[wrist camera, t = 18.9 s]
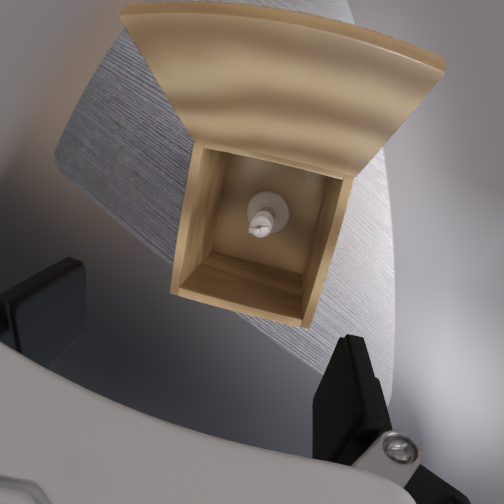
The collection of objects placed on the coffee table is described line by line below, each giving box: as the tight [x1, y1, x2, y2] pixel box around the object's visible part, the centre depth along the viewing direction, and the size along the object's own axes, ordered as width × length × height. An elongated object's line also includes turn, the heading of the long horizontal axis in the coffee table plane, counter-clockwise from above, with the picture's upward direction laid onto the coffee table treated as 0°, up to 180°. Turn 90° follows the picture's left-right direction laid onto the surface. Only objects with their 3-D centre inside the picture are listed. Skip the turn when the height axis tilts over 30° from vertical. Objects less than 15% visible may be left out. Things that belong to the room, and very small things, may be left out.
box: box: [170, 141, 354, 329], centre depth 31 cm, size 14×13×12 cm
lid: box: [119, 1, 446, 177], centre depth 16 cm, size 14×13×1 cm
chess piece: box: [246, 191, 290, 237], centre depth 32 cm, size 5×5×10 cm
